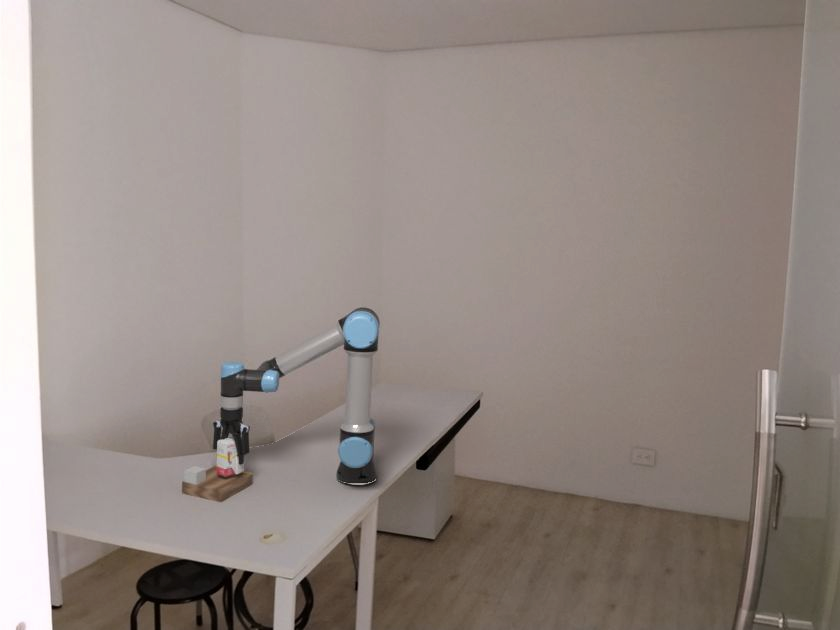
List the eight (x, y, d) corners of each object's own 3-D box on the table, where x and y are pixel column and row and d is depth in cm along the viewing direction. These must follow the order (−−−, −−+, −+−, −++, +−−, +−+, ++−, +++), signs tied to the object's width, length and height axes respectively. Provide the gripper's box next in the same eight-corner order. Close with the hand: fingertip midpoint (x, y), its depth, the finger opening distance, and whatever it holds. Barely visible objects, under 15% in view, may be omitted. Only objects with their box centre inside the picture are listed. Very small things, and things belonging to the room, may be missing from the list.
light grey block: (205, 479, 249) (205, 468, 248) (196, 484, 244) (196, 473, 244) (193, 477, 251) (193, 466, 250) (184, 481, 246) (184, 470, 245)
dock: (252, 484, 257) (252, 473, 257) (221, 502, 241) (221, 490, 240) (214, 476, 263) (215, 465, 262) (182, 493, 246) (182, 481, 246)
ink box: (224, 477, 248) (225, 444, 246) (215, 473, 251) (216, 440, 249) (244, 471, 254) (245, 438, 253) (236, 467, 257) (236, 435, 256)
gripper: (261, 408, 249) (259, 472, 253) (215, 400, 256) (214, 463, 259) (248, 413, 243) (247, 479, 246) (202, 405, 249) (201, 469, 252)
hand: (230, 471), depth 253 cm, fingers closed on ink box, 6 cm apart
